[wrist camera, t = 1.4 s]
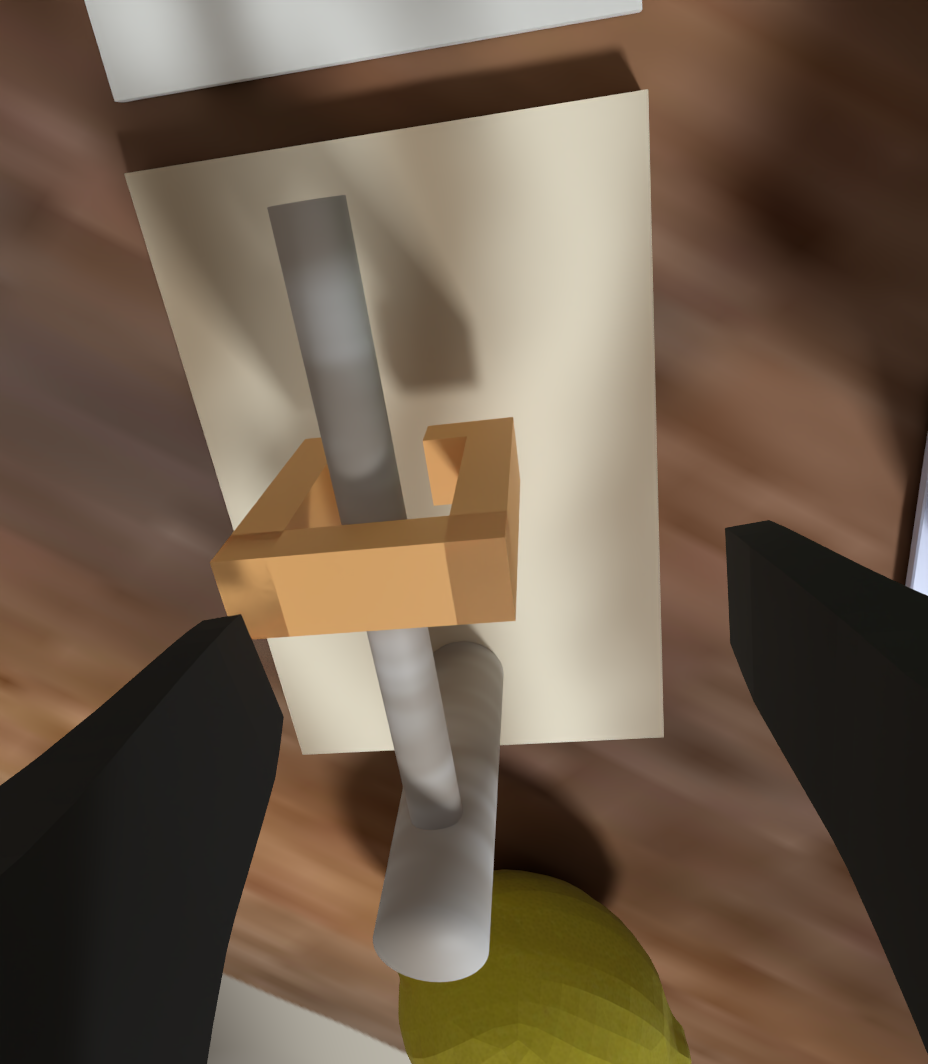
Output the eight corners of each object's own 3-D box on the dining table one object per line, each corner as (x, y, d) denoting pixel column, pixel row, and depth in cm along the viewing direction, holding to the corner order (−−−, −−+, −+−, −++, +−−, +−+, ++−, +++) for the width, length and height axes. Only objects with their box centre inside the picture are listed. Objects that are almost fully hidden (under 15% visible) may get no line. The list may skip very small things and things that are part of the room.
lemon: (366, 889, 30) (315, 1119, 23) (478, 777, 27) (459, 1005, 20) (579, 1000, 32) (593, 1241, 25) (707, 909, 29) (764, 1157, 22)
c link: (513, 416, 17) (505, 537, 12) (520, 480, 18) (516, 620, 13) (305, 439, 18) (209, 562, 13) (319, 499, 19) (235, 640, 13)
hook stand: (642, 92, 17) (764, 32, 8) (659, 715, 25) (729, 1032, 16) (143, 172, 18) (-217, 196, 10) (310, 734, 26) (198, 1031, 18)
